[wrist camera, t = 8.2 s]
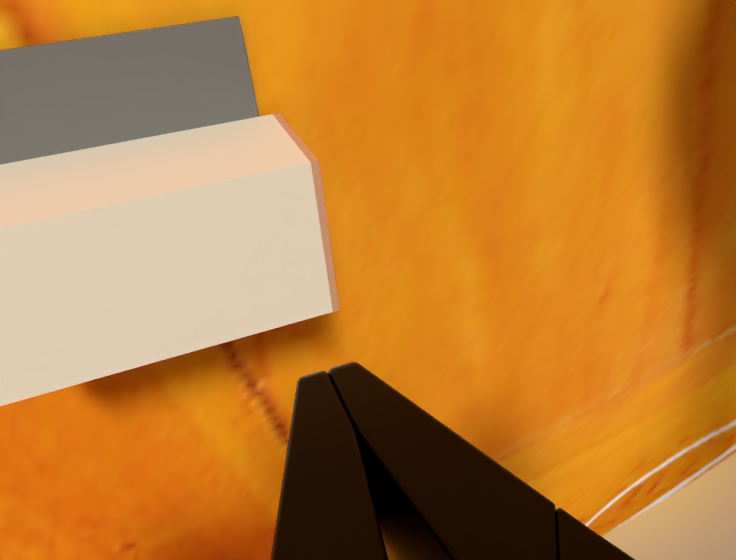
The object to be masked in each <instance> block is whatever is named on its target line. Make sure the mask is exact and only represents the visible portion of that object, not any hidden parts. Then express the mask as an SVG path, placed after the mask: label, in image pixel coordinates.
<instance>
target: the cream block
mask: <svg viewBox="0 0 736 560" xmlns="http://www.w3.org/2000/svg"><path fill="white" fill-rule="evenodd" d="M338 310H339V303H338V296H337V289H336V282H335V274H334V267H333V260H332V253H331V246H330V239H329V231H328V224H327V217H326V210H325V203H324V195H323V188H322V181H321V174H320V167H319V161H318V159H317V158H316V157H315V156H314V155H313V153H312V152H311V151H310V150H309V149H308V147H307V146H306V145H305V144H304V143H303V141H302V140H301V139H300V138H299V137H298V135H297V134H296V133H295V132H294V131H293V129H292V128H291V127H290V126H289V125H288V123H287V122H286V121H285V120H284V118H283V117H282V116H281V115H280V114H279V113H276V114H270V115H265V116H260V117H254V118H249V119H243V120H238V121H233V122H227V123H222V124H217V125H211V126H206V127H200V128H195V129H190V130H184V131H179V132H173V133H168V134H163V135H157V136H152V137H147V138H141V139H136V140H130V141H125V142H120V143H114V144H109V145H103V146H98V147H93V148H87V149H82V150H77V151H71V152H66V153H60V154H55V155H50V156H44V157H39V158H33V159H28V160H23V161H17V162H12V163H7V164H1V165H0V406H3V405H6V404H10V403H13V402H17V401H20V400H24V399H27V398H31V397H34V396H38V395H41V394H45V393H48V392H52V391H55V390H59V389H63V388H66V387H70V386H73V385H77V384H80V383H84V382H87V381H91V380H94V379H98V378H101V377H105V376H108V375H112V374H115V373H119V372H123V371H126V370H130V369H133V368H137V367H140V366H144V365H147V364H151V363H154V362H158V361H161V360H165V359H168V358H172V357H175V356H179V355H183V354H186V353H190V352H193V351H197V350H200V349H204V348H207V347H211V346H214V345H218V344H221V343H225V342H228V341H232V340H235V339H239V338H243V337H246V336H250V335H253V334H257V333H260V332H264V331H267V330H271V329H274V328H278V327H281V326H285V325H288V324H292V323H296V322H299V321H303V320H306V319H310V318H313V317H317V316H320V315H324V314H327V313H331V312H334V311H338Z"/></svg>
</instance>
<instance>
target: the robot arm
mask: <svg viewBox="0 0 736 560" xmlns="http://www.w3.org/2000/svg"><path fill="white" fill-rule="evenodd" d="M271 560H635V559H633V558H632V557H630V556H629V555H628V554H626V553H625V552H623V551H622V550H620V549H619V548H617V547H616V546H614V545H613V544H611V543H610V542H608V541H607V540H605V539H604V538H603V537H601V536H600V535H598V534H597V533H595V532H594V531H592V530H591V529H589V528H588V527H587V526H585V525H584V524H582V523H581V522H580V521H578V520H577V519H575V518H574V517H573V516H571V515H570V514H568V513H567V512H566V511H564V510H563V509H561V508H558V509H557V510H556V508H555V504H554V503H553V502H551V501H550V500H549V499H547V498H546V497H544V496H543V495H542V494H540V493H539V492H537V491H536V490H535V489H533V488H532V487H530V486H529V485H528V484H526V483H525V482H523V481H522V480H521V479H519V478H518V477H516V476H515V475H514V474H512V473H511V472H509V471H508V470H507V469H505V468H504V467H502V466H501V465H500V464H498V463H497V462H495V461H494V460H493V459H491V458H490V457H488V456H487V455H486V454H484V453H483V452H481V451H480V450H479V449H477V448H476V447H474V446H473V445H472V444H470V443H469V442H468V441H466V440H465V439H463V438H462V437H461V436H459V435H458V434H456V433H455V432H454V431H452V430H451V429H449V428H448V427H447V426H445V425H444V424H442V423H441V422H440V421H438V420H437V419H435V418H434V417H433V416H431V415H430V414H428V413H427V412H426V411H424V410H423V409H421V408H420V407H419V406H417V405H416V404H414V403H413V402H412V401H410V400H409V399H407V398H406V397H405V396H403V395H402V394H400V393H399V392H398V391H396V390H395V389H393V388H392V387H391V386H389V385H388V384H386V383H385V382H384V381H382V380H381V379H379V378H378V377H377V376H375V375H374V374H372V373H371V372H370V371H368V370H367V369H366V368H364V367H363V366H361V365H360V364H358V363H356V362H350V363H346V364H343V365H340V366H336V367H333V368H331V369H330V370H329V371H328V373H327V372H326V371H319V372H316V373H313V374H309V375H306V376H303V377H300V378H299V380H298V382H297V387H296V394H295V401H294V407H293V414H292V421H291V427H290V434H289V440H288V447H287V454H286V460H285V467H284V474H283V480H282V487H281V494H280V500H279V507H278V513H277V520H276V527H275V533H274V540H273V547H272V553H271Z"/></svg>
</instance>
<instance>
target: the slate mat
mask: <svg viewBox="0 0 736 560" xmlns="http://www.w3.org/2000/svg"><path fill="white" fill-rule="evenodd" d="M254 117H259V116H258V111H257V106H256V101H255V96H254V91H253V86H252V81H251V76H250V71H249V66H248V61H247V55H246V50H245V45H244V40H243V35H242V30H241V25H240V20H239V17H238V16H236V17H229V18H222V19H215V20H208V21H201V22H194V23H187V24H180V25H173V26H166V27H159V28H152V29H145V30H138V31H131V32H124V33H117V34H110V35H103V36H96V37H89V38H82V39H75V40H68V41H61V42H54V43H47V44H40V45H33V46H26V47H19V48H12V49H5V50H0V165H1V164H7V163H12V162H17V161H23V160H28V159H33V158H39V157H44V156H50V155H55V154H60V153H66V152H71V151H77V150H82V149H87V148H93V147H98V146H103V145H109V144H114V143H120V142H125V141H130V140H136V139H141V138H147V137H152V136H157V135H163V134H168V133H173V132H179V131H184V130H190V129H195V128H200V127H206V126H211V125H217V124H222V123H227V122H233V121H238V120H243V119H249V118H254Z"/></svg>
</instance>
